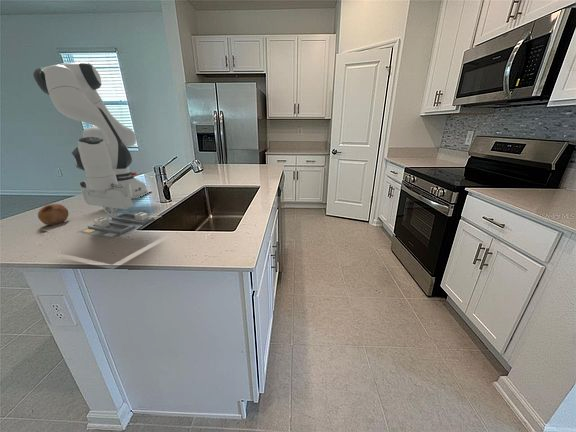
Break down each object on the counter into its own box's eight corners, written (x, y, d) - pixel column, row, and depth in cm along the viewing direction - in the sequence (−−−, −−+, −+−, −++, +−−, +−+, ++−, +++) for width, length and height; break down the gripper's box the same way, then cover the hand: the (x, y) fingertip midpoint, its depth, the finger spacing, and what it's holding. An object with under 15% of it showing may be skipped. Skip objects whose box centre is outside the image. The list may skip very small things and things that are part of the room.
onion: (57, 233, 102) (45, 217, 95) (39, 225, 103) (25, 209, 96) (78, 218, 108) (67, 202, 101) (61, 211, 109) (49, 195, 102)
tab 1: (102, 224, 100) (100, 216, 99) (109, 225, 99) (107, 217, 98) (95, 227, 98) (92, 218, 96) (102, 228, 97) (100, 219, 95)
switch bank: (131, 214, 115) (130, 209, 114) (162, 218, 110) (161, 214, 110) (78, 234, 94) (76, 229, 93) (113, 241, 89) (111, 235, 88)
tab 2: (141, 218, 107) (139, 211, 105) (148, 219, 106) (147, 212, 104) (135, 221, 104) (133, 213, 103) (142, 222, 103) (141, 214, 102)
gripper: (132, 183, 91) (140, 217, 96) (91, 178, 96) (101, 211, 101) (117, 187, 85) (126, 223, 91) (74, 182, 91) (86, 216, 96)
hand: (112, 216), depth 96 cm, fingers closed
